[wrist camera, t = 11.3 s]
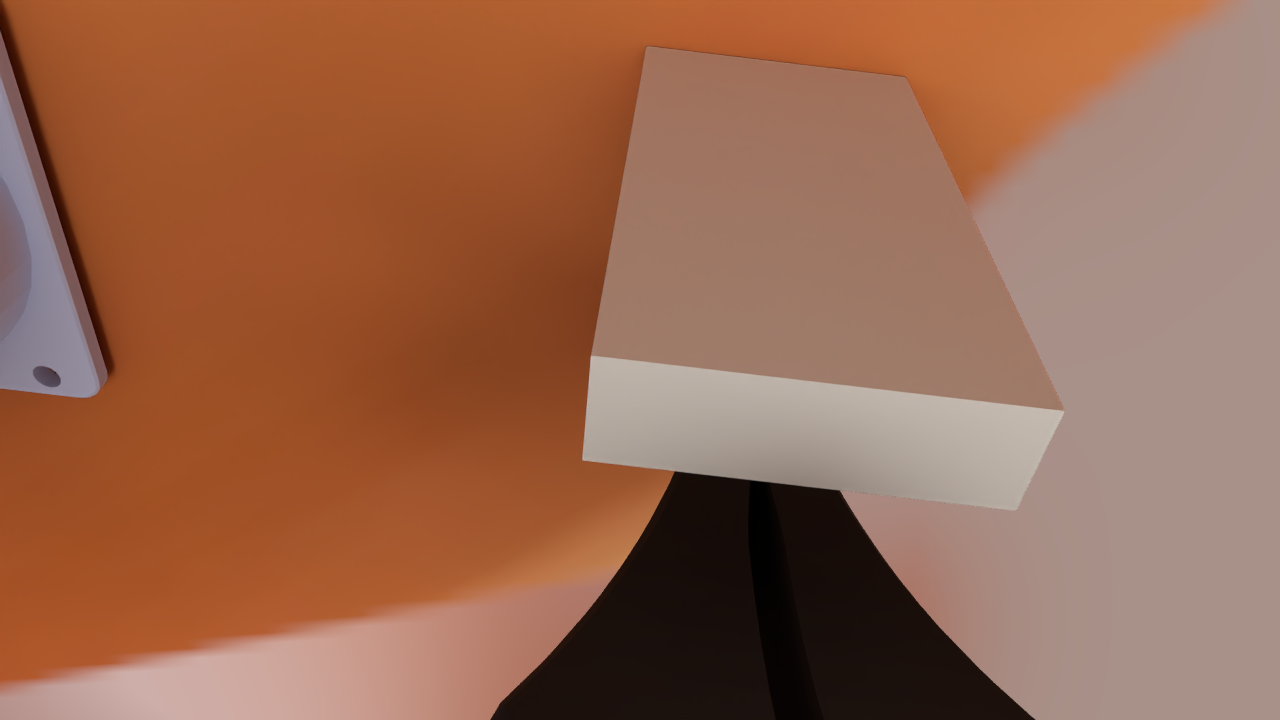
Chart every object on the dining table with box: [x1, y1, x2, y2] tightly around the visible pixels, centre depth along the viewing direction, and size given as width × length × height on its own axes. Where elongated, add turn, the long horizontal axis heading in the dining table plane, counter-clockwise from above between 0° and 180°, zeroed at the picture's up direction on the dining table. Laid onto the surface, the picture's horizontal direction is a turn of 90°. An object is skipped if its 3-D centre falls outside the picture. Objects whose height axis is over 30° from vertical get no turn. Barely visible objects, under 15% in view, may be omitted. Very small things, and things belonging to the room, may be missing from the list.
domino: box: [582, 46, 1065, 511], centre depth 11 cm, size 4×1×8 cm, turn 84°
